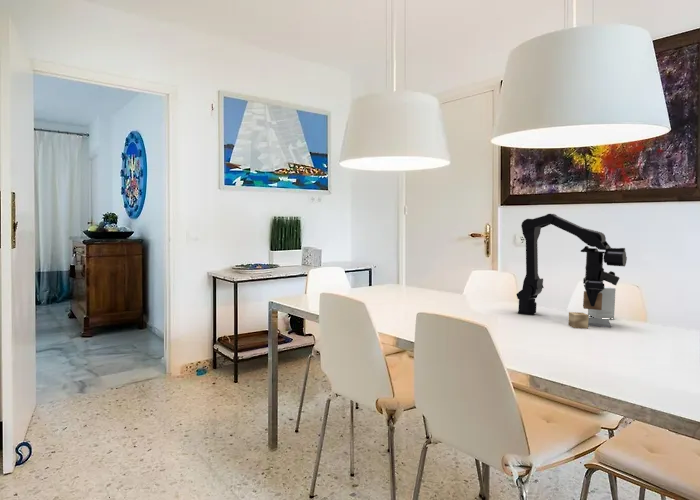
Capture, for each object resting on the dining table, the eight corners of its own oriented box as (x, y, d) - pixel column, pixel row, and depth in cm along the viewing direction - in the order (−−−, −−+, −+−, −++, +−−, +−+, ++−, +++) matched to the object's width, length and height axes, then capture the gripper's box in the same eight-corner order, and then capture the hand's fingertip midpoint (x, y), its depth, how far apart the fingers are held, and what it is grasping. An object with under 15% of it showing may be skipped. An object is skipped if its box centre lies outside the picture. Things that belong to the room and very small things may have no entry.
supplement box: (614, 319, 186) (616, 288, 185) (596, 319, 186) (597, 287, 186) (605, 316, 193) (606, 285, 193) (587, 315, 194) (588, 285, 193)
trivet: (574, 324, 176) (574, 321, 176) (573, 318, 187) (574, 316, 187) (610, 327, 171) (611, 324, 171) (607, 321, 182) (608, 319, 182)
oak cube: (573, 328, 169) (574, 314, 168) (568, 325, 174) (568, 312, 173) (587, 328, 168) (588, 315, 168) (582, 325, 173) (582, 312, 173)
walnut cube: (583, 308, 177) (584, 293, 177) (583, 306, 183) (583, 291, 182) (601, 310, 175) (602, 294, 174) (600, 307, 180) (601, 292, 180)
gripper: (621, 267, 166) (618, 310, 167) (615, 264, 183) (613, 303, 184) (586, 265, 170) (584, 308, 171) (584, 262, 187) (582, 300, 188)
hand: (592, 305), depth 179 cm, fingers closed on walnut cube, 6 cm apart
